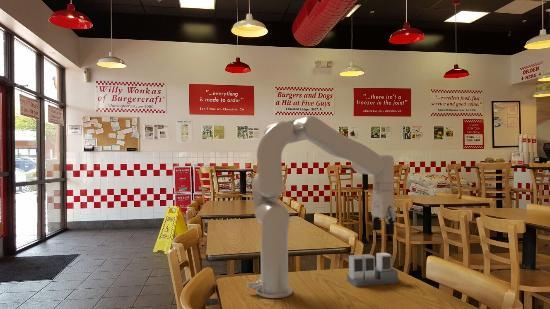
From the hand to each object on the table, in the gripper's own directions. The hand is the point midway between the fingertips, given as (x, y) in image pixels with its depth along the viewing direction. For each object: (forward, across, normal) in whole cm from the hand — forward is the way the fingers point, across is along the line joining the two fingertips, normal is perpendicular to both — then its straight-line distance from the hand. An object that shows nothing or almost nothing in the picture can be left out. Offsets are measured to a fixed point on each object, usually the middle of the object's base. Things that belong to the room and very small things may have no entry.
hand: (383, 232), depth 154 cm
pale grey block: (+16, 0, +1) cm, 16 cm away
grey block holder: (+18, 0, -4) cm, 19 cm away
